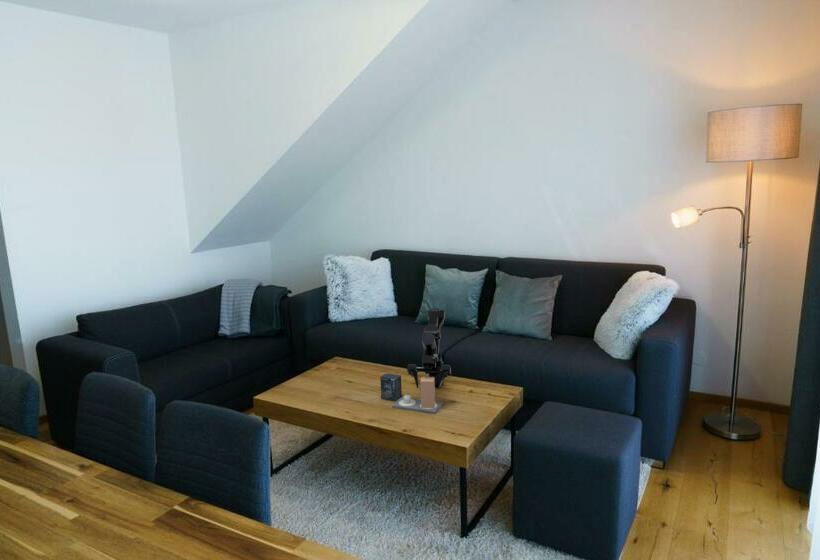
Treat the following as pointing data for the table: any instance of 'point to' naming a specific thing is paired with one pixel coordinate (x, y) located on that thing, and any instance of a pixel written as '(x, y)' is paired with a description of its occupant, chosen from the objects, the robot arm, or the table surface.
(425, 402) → the pink block
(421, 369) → the robot arm
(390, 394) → the box
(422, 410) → the plate
